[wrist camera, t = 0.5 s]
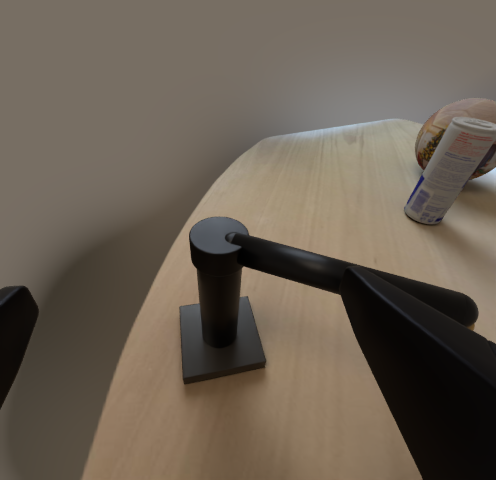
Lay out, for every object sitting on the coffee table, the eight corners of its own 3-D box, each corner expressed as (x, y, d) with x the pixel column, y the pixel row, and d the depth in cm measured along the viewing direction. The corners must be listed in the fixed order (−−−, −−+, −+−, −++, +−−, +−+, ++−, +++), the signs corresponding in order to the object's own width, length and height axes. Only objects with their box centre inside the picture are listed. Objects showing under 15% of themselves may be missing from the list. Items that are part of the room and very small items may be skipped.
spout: (186, 307, 20) (177, 241, 16) (208, 272, 23) (205, 208, 19) (431, 391, 17) (505, 337, 12) (421, 338, 19) (479, 279, 15)
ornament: (406, 185, 52) (450, 102, 42) (398, 157, 63) (431, 85, 53) (492, 203, 49) (560, 117, 39) (468, 169, 60) (516, 96, 50)
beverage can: (447, 225, 42) (515, 129, 33) (416, 227, 42) (476, 128, 32) (425, 206, 47) (479, 116, 37) (396, 207, 46) (443, 114, 36)
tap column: (264, 367, 24) (283, 292, 17) (184, 384, 22) (167, 309, 15) (247, 302, 29) (255, 224, 22) (180, 313, 27) (166, 232, 20)
